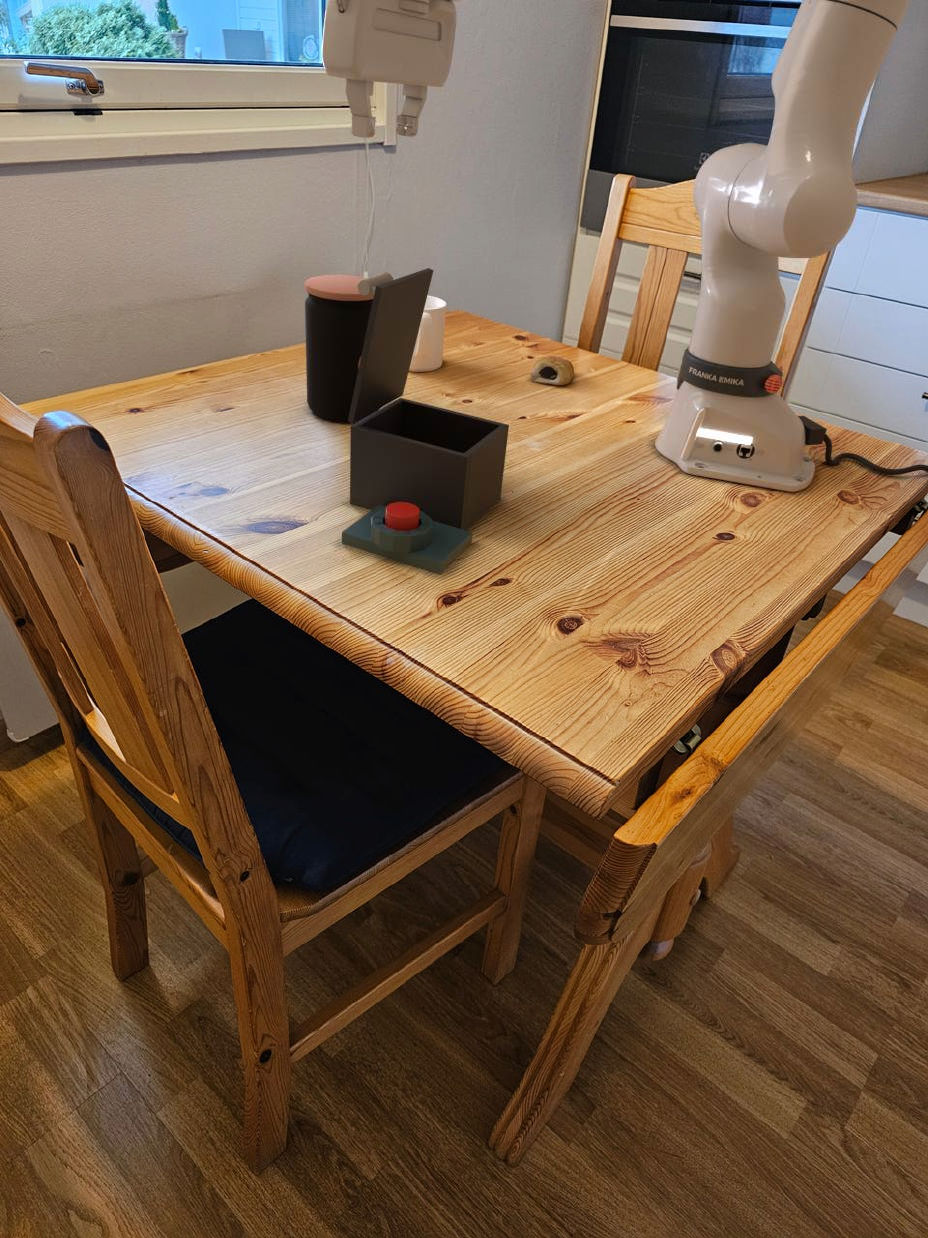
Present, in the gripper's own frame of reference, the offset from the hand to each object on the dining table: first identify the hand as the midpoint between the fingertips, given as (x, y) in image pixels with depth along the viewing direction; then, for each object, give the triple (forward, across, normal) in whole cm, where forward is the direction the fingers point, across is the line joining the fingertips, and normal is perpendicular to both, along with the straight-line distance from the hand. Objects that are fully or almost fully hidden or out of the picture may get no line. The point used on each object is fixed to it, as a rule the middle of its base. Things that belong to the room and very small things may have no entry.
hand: (385, 136), depth 85 cm
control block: (+38, -11, -12) cm, 41 cm away
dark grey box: (+38, 0, -9) cm, 39 cm away
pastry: (+36, +54, -7) cm, 66 cm away
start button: (+35, -12, -12) cm, 39 cm away
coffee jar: (+38, +20, +14) cm, 45 cm away
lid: (+20, 0, -3) cm, 20 cm away
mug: (+38, +46, +15) cm, 62 cm away
